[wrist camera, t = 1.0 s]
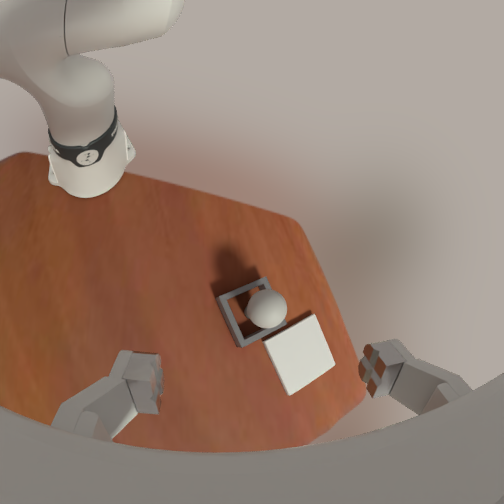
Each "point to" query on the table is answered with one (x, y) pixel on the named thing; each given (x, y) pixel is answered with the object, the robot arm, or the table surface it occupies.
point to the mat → (299, 354)
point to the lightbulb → (266, 308)
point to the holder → (231, 320)
